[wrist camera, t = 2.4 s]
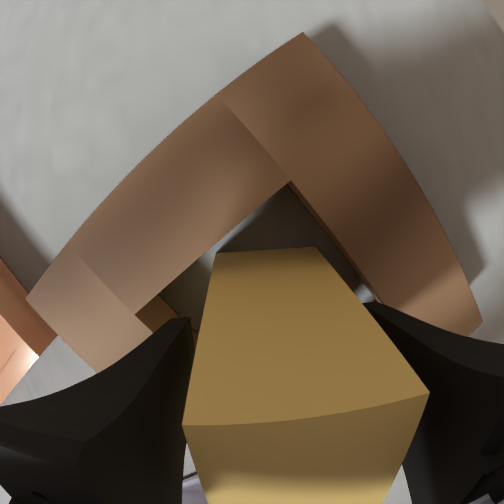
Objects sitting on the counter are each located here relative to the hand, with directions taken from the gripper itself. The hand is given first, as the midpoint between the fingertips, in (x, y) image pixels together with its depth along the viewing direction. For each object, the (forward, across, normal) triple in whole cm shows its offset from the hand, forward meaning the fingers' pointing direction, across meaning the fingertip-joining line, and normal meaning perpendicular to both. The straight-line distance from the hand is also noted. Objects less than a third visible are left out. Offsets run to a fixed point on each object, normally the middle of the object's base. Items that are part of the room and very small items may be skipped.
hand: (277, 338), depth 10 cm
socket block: (+3, 0, 0) cm, 3 cm away
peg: (+3, 0, 0) cm, 3 cm away
